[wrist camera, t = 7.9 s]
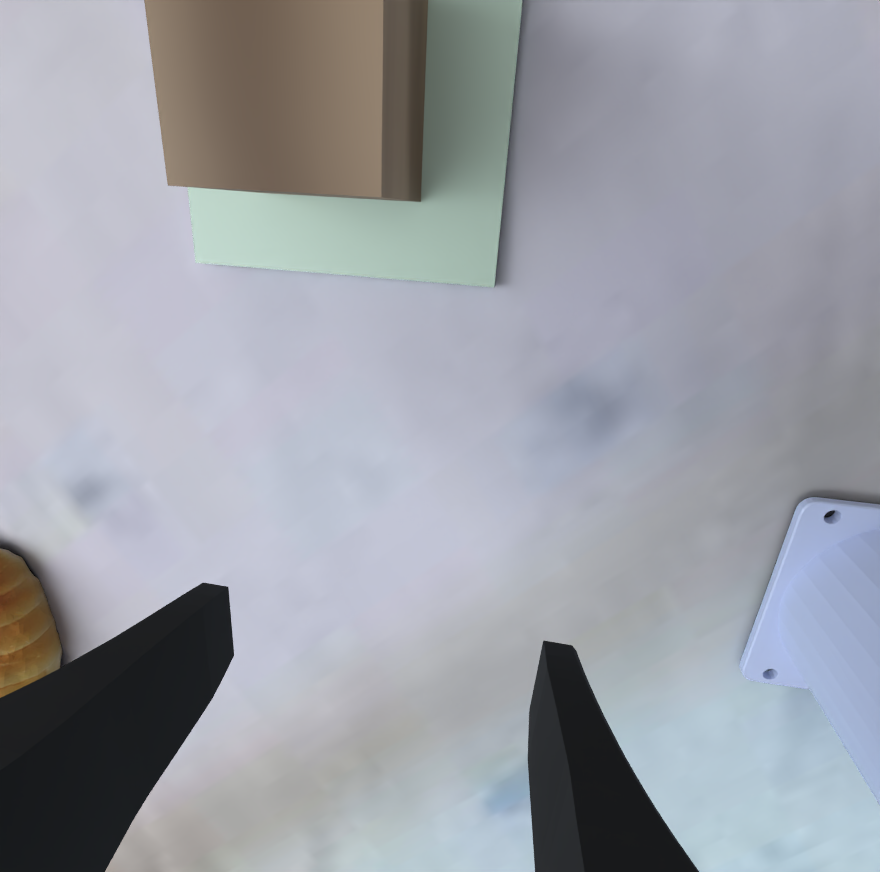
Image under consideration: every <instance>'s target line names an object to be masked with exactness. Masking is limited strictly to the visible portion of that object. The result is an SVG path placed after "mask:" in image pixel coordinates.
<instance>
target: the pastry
mask: <svg viewBox="0 0 880 872" xmlns="http://www.w3.org/2000/svg"><path fill="white" fill-rule="evenodd" d="M61 656H62V647H61V643H60V640H59V634H58V633H57V631H56V625H55V620H54V618H53V616H52V613H51V610H50V607H49V605H48V601H47V599H46V596H45V593H44V591H43V588H42V586H41V583H40V581H39V579H38V578H36V577H35V576H34V575H33V574H32V573H31V571H30V570H29V568H28V567H27V565H26V563H25V561H24V560H23V558H22V557H20V556H17V555H15V554H13V553H12V552H10V551H9V550H5V549H1V548H0V698H1V697H3V696H5V695H7V694H9V693H12V692H14V691H16V690H18V689H20V688H22V687H24V686H26V685H28V684H30V683H32V682H34V681H36V680H38V679H40V678H42V677H44V676H46V675H48V674H50V673H52V672H54V671H56V670H58V669H59V668H60V661H61Z"/></svg>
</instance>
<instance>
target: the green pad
mask: <svg viewBox="0 0 880 872" xmlns="http://www.w3.org/2000/svg"><path fill="white" fill-rule="evenodd" d="M522 4H523V0H428V18H427V46H426V73H425V101H424V128H423V156H422V183H421V202H412V201H394V200H376V199H359V198H341V197H323V196H306V195H288V194H270V193H256V192H244V191H231V190H219V189H206V188H194V187H188V196H189V205H190V215H191V224H192V233H193V243H194V252H195V261H196V263H204V264H216V265H228V266H240V267H252V268H265V269H277V270H289V271H301V272H313V273H325V274H337V275H350V276H362V277H374V278H386V279H398V280H410V281H422V282H434V283H447V284H459V285H471V286H483V287H494V286H495V278H496V268H497V258H498V248H499V237H500V227H501V217H502V207H503V197H504V187H505V177H506V166H507V156H508V146H509V136H510V126H511V116H512V105H513V95H514V85H515V75H516V65H517V55H518V45H519V34H520V24H521V14H522Z"/></svg>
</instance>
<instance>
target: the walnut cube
mask: <svg viewBox="0 0 880 872" xmlns="http://www.w3.org/2000/svg"><path fill="white" fill-rule="evenodd" d="M144 2H145V9H146V17H147V25H148V33H149V41H150V49H151V57H152V64H153V72H154V80H155V88H156V96H157V104H158V112H159V119H160V127H161V135H162V143H163V151H164V159H165V166H166V174H167V182H168V185H169V186H182V187H194V188H206V189H219V190H231V191H244V192H256V193H270V194H288V195H306V196H323V197H341V198H359V199H376V200H394V201H412V202H421V183H422V156H423V128H424V101H425V73H426V46H427V18H428V0H144Z"/></svg>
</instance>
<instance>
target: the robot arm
mask: <svg viewBox="0 0 880 872" xmlns="http://www.w3.org/2000/svg"><path fill="white" fill-rule="evenodd" d="M831 510H835V513H834V514H833V515H832V516H830V517H828V518H824V515H825V514H826V513H827V512H829V511H831ZM233 656H234V649H233V637H232V626H231V614H230V602H229V590H228V587H226V586H220V585H214V584H208V583H202V584H200V585H199V586H197V587H195V588H193V589H192V590H190V591H189V592H187V593H185V594H184V595H182V596H180V597H179V598H177V599H176V600H174V601H172V602H171V603H169V604H168V605H166V606H165V607H163V608H161V609H160V610H158V611H157V612H155V613H153V614H152V615H150V616H149V617H147V618H145V619H144V620H142V621H140V622H139V623H137V624H136V625H134V626H132V627H131V628H129V629H127V630H126V631H124V632H122V633H121V634H119V635H118V636H116V637H114V638H113V639H111V640H109V641H107V642H106V643H104V644H102V645H100V646H99V647H97V648H95V649H93V650H91V651H90V652H88V653H86V654H84V655H83V656H81V657H79V658H77V659H76V660H74V661H72V662H70V663H68V664H67V665H65V666H63V667H61V668H59V669H58V670H56V671H54V672H52V673H50V674H48V675H46V676H44V677H42V678H40V679H38V680H36V681H34V682H32V683H30V684H28V685H26V686H24V687H22V688H20V689H18V690H16V691H14V692H12V693H9V694H7V695H5V696H3V697H1V698H0V872H105V870H106V868H107V867H108V865H109V863H110V861H111V859H112V858H113V856H114V854H115V852H116V850H117V848H118V847H119V845H120V843H121V841H122V839H123V837H124V836H125V834H126V832H127V830H128V828H129V827H130V825H131V823H132V821H133V819H134V818H135V816H136V814H137V813H138V811H139V809H140V808H141V806H142V805H143V803H144V801H145V800H146V798H147V796H148V795H149V793H150V792H151V790H152V789H153V787H154V786H155V784H156V783H157V781H158V780H159V778H160V777H161V775H162V774H163V772H164V771H165V769H166V768H167V766H168V765H169V763H170V762H171V760H172V759H173V757H174V756H175V754H176V753H177V751H178V750H179V748H180V747H181V745H182V744H183V742H184V741H185V739H186V738H187V736H188V735H189V733H190V732H191V730H192V729H193V727H194V726H195V724H196V723H197V721H198V720H199V718H200V717H201V715H202V714H203V712H204V711H205V709H206V707H207V706H208V704H209V703H210V701H211V700H212V698H213V696H214V694H215V692H216V690H217V688H218V687H219V685H220V683H221V681H222V679H223V677H224V675H225V673H226V671H227V669H228V667H229V665H230V662H231V660H232V658H233ZM739 667H740V669H741V671H742V674H743V676H744V677H745V678H746V679H748V680H751V681H757V682H763V683H770V684H777V685H783V686H790V687H796V688H803V689H810V690H811V692H812V694H813V695H814V697H815V699H816V700H817V702H818V704H819V705H820V707H821V709H822V710H823V712H824V714H825V715H826V717H827V719H828V720H829V722H830V724H831V725H832V727H833V729H834V730H835V732H836V734H837V735H838V737H839V739H840V740H841V742H842V744H843V745H844V747H845V749H846V750H847V752H848V754H849V755H850V757H851V758H852V760H853V762H854V763H855V765H856V767H857V768H858V770H859V772H860V773H861V775H862V777H863V778H864V780H865V782H866V783H867V785H868V787H869V788H870V790H871V792H872V793H873V795H874V797H875V798H876V800H877V802H878V803H879V805H880V504H871V503H863V502H854V501H845V500H837V499H828V498H819V497H810V498H807V499H804V500H803V501H802V502H800V503H799V504H798V506H797V508H796V510H795V513H794V515H793V518H792V521H791V524H790V526H789V529H788V532H787V535H786V537H785V540H784V543H783V546H782V548H781V551H780V554H779V557H778V559H777V562H776V565H775V568H774V570H773V573H772V576H771V579H770V581H769V584H768V587H767V590H766V592H765V595H764V598H763V601H762V603H761V606H760V609H759V612H758V614H757V617H756V620H755V623H754V625H753V628H752V631H751V634H750V636H749V639H748V642H747V645H746V647H745V650H744V653H743V656H742V658H741V661H740V666H739ZM767 669H772V670H770V671H765V670H767ZM528 769H529V785H530V801H531V816H532V830H533V845H534V860H535V872H699V871H698V870H697V868H696V867H695V865H694V864H693V863H692V861H691V860H690V858H689V857H688V855H687V854H686V853H685V851H684V850H683V848H682V847H681V845H680V844H679V843H678V841H677V840H676V838H675V837H674V835H673V834H672V832H671V831H670V829H669V828H668V826H667V825H666V823H665V822H664V820H663V819H662V817H661V816H660V814H659V813H658V811H657V809H656V808H655V806H654V805H653V803H652V801H651V800H650V798H649V797H648V795H647V793H646V792H645V790H644V788H643V787H642V785H641V783H640V782H639V780H638V778H637V776H636V775H635V773H634V771H633V769H632V768H631V766H630V764H629V762H628V761H627V759H626V757H625V755H624V753H623V752H622V750H621V748H620V746H619V744H618V742H617V740H616V738H615V736H614V734H613V732H612V731H611V729H610V727H609V725H608V723H607V721H606V719H605V717H604V715H603V713H602V711H601V709H600V706H599V704H598V702H597V700H596V698H595V696H594V693H593V691H592V689H591V687H590V684H589V682H588V680H587V677H586V675H585V673H584V670H583V668H582V665H581V662H580V660H579V657H578V654H577V652H576V650H575V649H574V647H573V646H572V645H566V644H560V643H554V642H548V641H543V645H542V650H541V655H540V660H539V665H538V670H537V675H536V680H535V685H534V690H533V695H532V700H531V705H530V711H529V738H528Z"/></svg>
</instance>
